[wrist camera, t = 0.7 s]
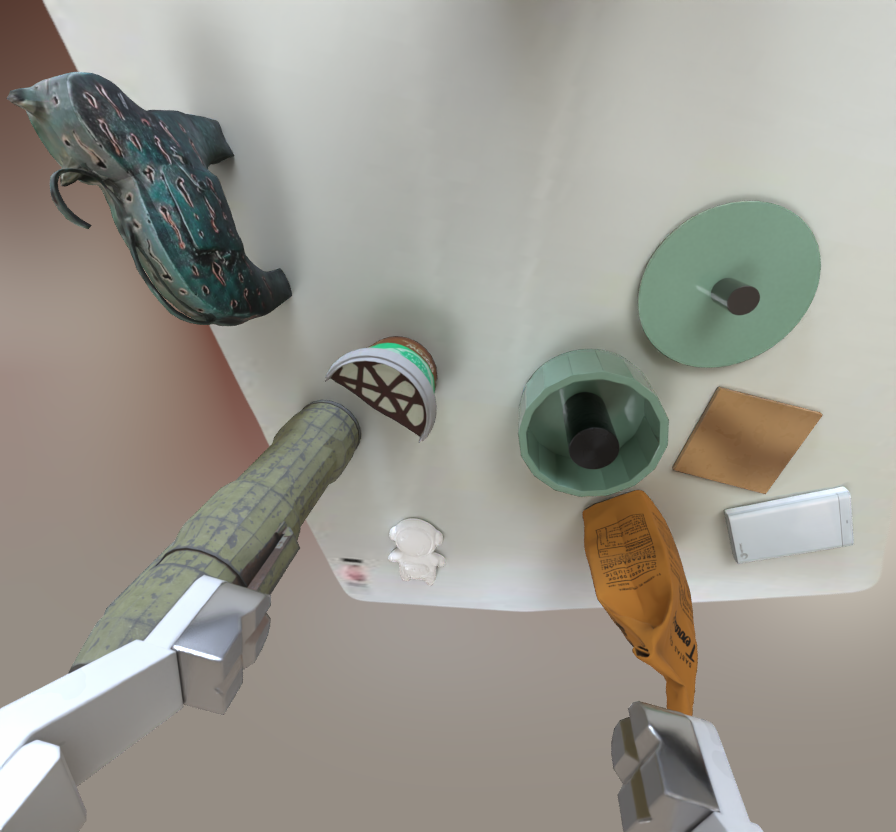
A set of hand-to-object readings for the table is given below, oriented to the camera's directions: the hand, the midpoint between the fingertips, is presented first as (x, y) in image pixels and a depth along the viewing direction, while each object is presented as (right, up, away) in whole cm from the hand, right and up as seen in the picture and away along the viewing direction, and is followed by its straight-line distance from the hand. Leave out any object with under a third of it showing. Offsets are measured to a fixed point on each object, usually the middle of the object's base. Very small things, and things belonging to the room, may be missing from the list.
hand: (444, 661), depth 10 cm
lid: (+27, +18, +33) cm, 46 cm away
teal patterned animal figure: (-21, +27, +37) cm, 51 cm away
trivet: (+33, +3, +40) cm, 52 cm away
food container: (-4, +13, +42) cm, 44 cm away
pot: (+16, +6, +41) cm, 45 cm away
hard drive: (+41, -8, +44) cm, 61 cm away
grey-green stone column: (-16, +4, +49) cm, 51 cm away
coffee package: (+23, -9, +48) cm, 54 cm away
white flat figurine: (-4, -15, +56) cm, 58 cm away
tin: (+16, +6, +41) cm, 44 cm away
